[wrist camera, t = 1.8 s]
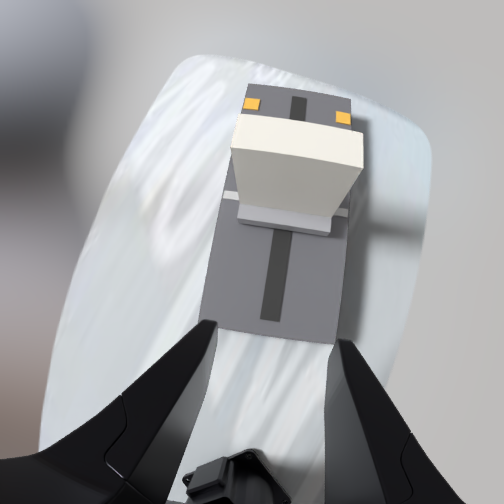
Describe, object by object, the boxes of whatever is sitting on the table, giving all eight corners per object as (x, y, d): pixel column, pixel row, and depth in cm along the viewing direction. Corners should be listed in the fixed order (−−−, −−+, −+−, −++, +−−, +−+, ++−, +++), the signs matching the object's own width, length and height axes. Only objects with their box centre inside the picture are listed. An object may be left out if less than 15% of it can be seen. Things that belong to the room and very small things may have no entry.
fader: (326, 236, 20) (363, 188, 12) (238, 222, 20) (226, 166, 13) (331, 183, 21) (362, 117, 13) (247, 170, 21) (242, 98, 14)
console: (326, 342, 21) (335, 344, 19) (204, 323, 22) (197, 324, 19) (344, 115, 25) (351, 98, 23) (249, 101, 26) (248, 82, 23)
